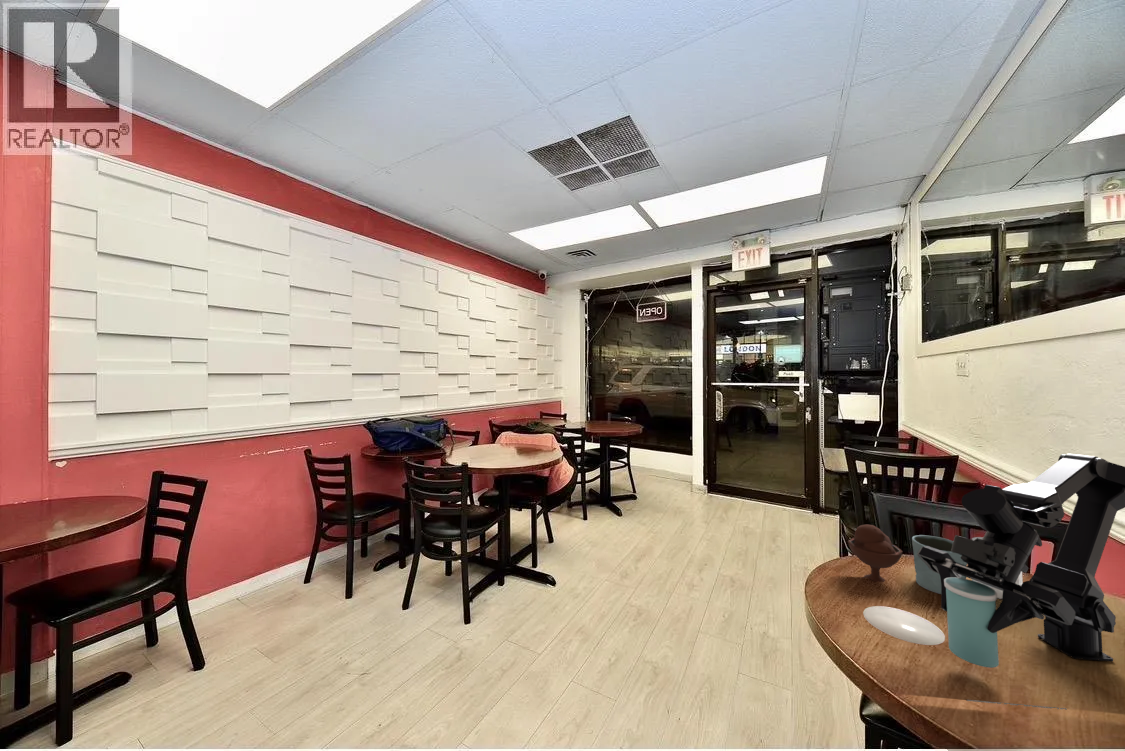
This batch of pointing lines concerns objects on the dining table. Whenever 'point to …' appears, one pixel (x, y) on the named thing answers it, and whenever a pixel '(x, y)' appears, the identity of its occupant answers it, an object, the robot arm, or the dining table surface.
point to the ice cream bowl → (874, 550)
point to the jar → (999, 592)
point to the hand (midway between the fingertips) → (965, 619)
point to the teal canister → (971, 621)
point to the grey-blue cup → (923, 573)
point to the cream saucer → (904, 625)
